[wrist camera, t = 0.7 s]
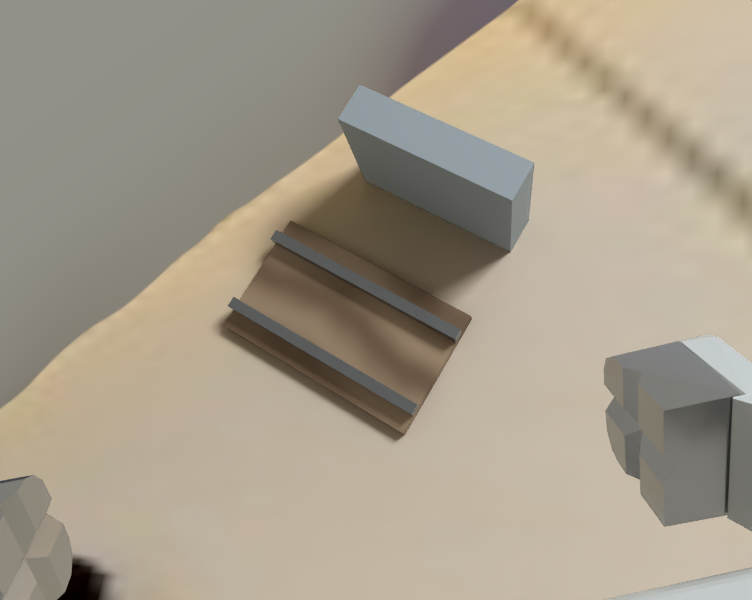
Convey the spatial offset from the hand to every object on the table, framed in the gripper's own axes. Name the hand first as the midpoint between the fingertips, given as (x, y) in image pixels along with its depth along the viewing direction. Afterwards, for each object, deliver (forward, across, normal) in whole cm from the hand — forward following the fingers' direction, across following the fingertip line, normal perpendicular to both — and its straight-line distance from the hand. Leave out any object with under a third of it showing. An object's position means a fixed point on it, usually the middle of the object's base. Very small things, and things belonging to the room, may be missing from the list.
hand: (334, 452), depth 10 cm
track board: (+50, 0, -21) cm, 55 cm away
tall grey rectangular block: (+56, +11, -13) cm, 58 cm away
